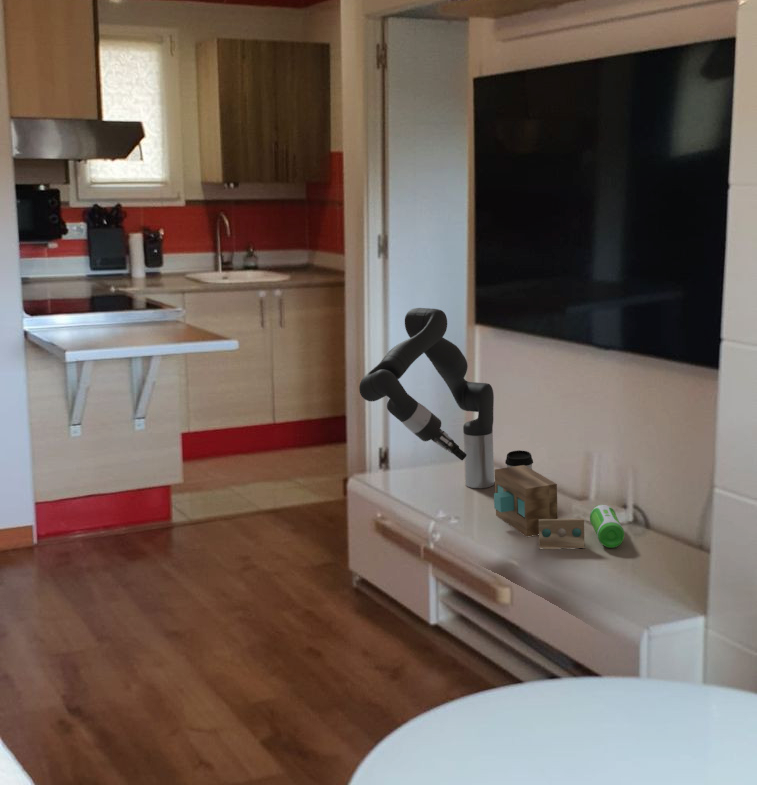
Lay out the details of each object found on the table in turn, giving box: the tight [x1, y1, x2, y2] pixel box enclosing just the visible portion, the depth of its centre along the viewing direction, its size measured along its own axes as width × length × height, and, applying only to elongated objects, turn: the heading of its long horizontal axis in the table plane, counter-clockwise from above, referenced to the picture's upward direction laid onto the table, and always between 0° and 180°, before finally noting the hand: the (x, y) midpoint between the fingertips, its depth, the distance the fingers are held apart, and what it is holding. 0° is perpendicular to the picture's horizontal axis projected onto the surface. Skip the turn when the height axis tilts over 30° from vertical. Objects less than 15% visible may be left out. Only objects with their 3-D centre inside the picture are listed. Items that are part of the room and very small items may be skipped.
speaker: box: [589, 504, 625, 549], centre depth 319 cm, size 18×7×8 cm, turn 178°
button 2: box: [518, 498, 525, 517], centre depth 326 cm, size 6×4×4 cm
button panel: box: [494, 465, 559, 537], centre depth 333 cm, size 10×21×14 cm, turn 18°
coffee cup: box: [504, 449, 534, 470], centre depth 353 cm, size 8×8×15 cm
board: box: [538, 518, 586, 550], centre depth 315 cm, size 5×12×8 cm, turn 83°
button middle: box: [493, 491, 514, 512], centre depth 331 cm, size 6×4×4 cm
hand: (463, 457), depth 326 cm, fingers closed
